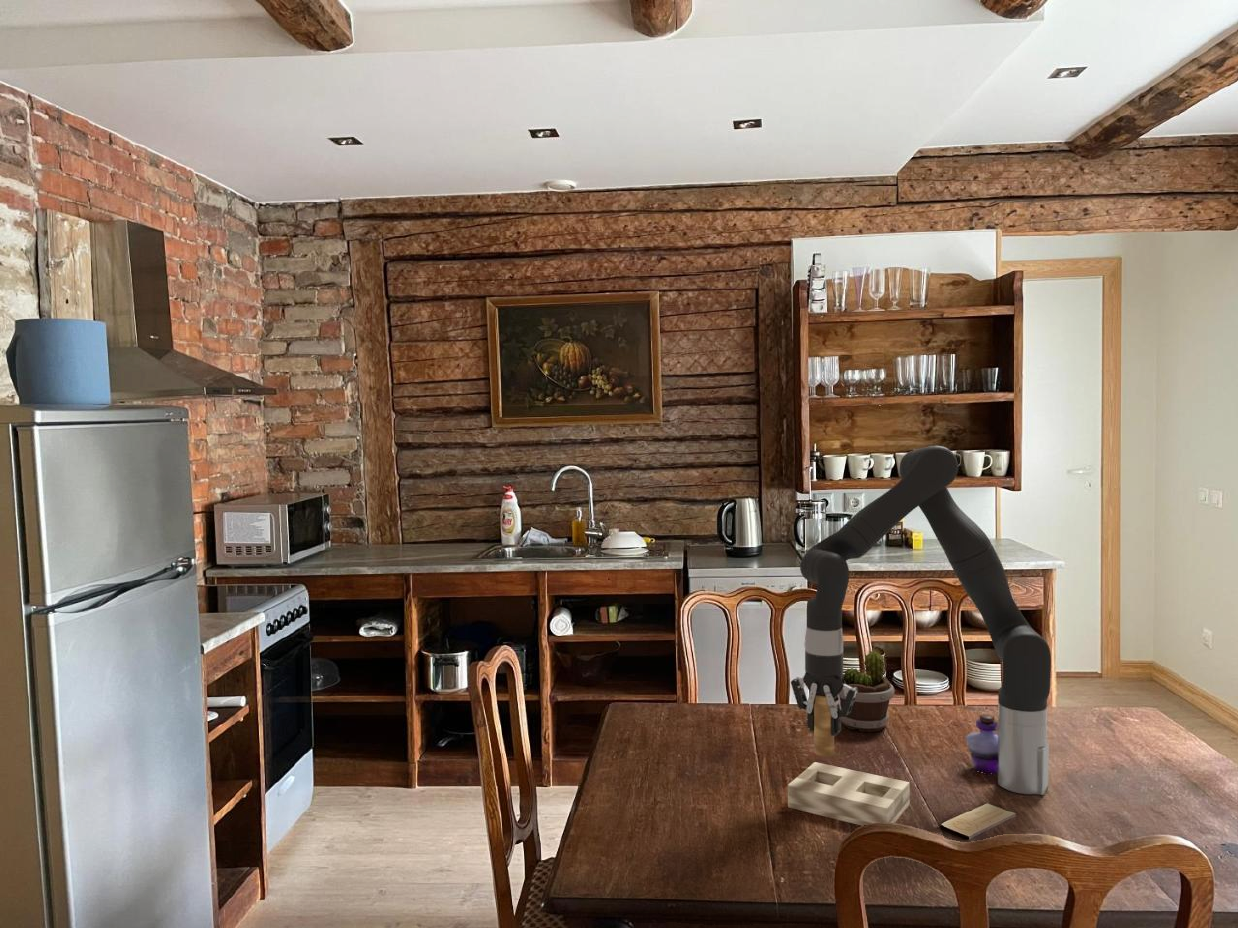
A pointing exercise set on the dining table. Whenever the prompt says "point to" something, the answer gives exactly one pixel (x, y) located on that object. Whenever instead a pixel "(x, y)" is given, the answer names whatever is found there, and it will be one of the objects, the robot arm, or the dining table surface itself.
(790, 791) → the hole block
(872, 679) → the flowerpot
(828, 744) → the peg
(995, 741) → the potion bottle
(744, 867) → the dining table surface
